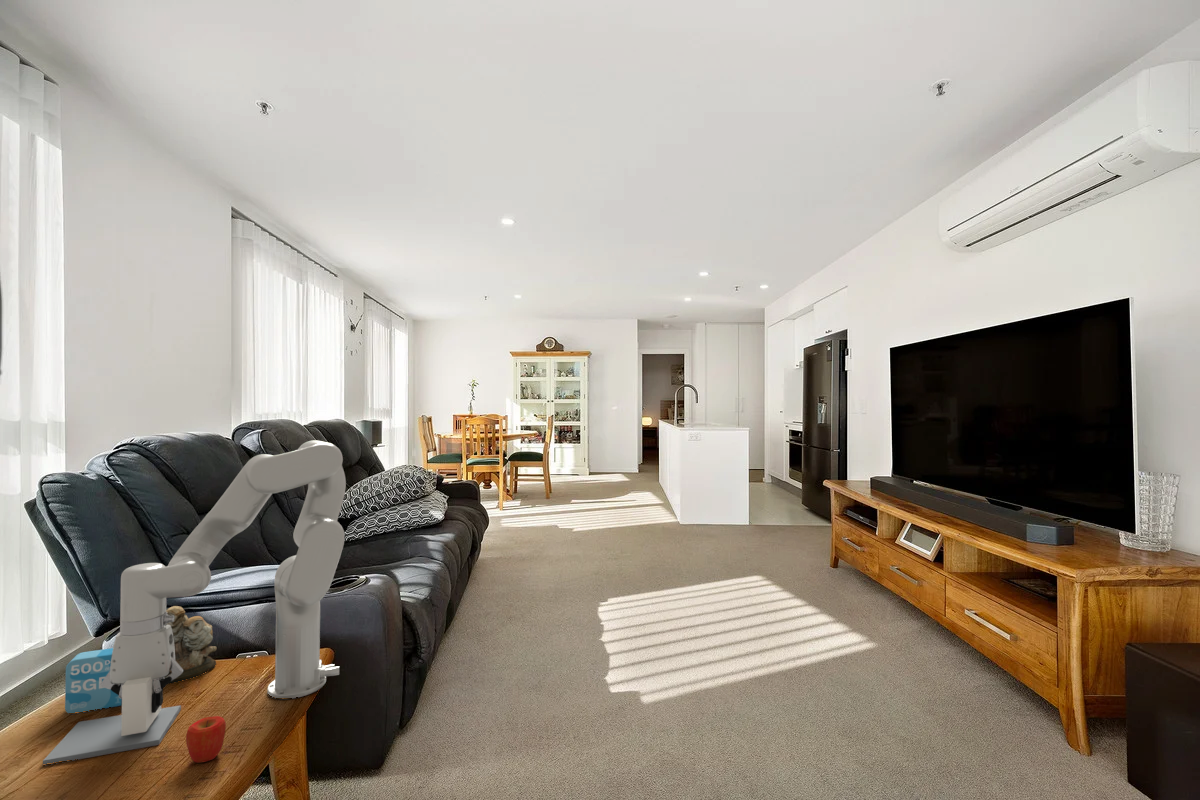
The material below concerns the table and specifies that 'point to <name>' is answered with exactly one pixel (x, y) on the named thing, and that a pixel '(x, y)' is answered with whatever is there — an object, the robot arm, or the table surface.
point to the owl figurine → (191, 644)
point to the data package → (89, 682)
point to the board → (109, 737)
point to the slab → (137, 706)
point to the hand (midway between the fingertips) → (142, 710)
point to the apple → (205, 738)
